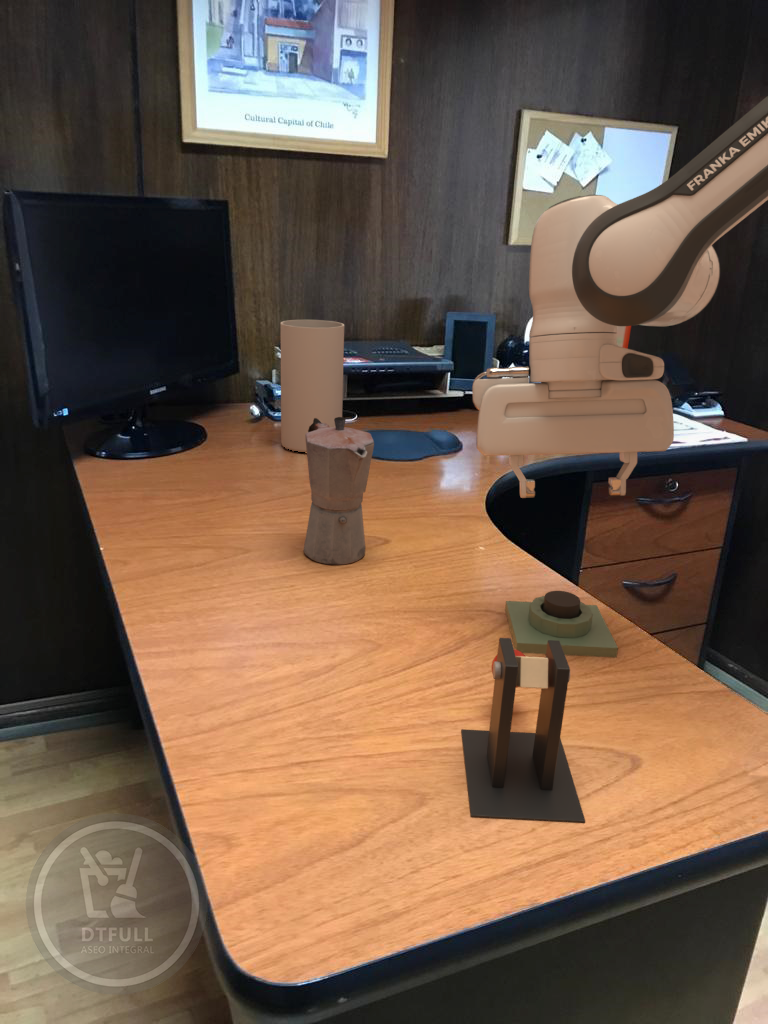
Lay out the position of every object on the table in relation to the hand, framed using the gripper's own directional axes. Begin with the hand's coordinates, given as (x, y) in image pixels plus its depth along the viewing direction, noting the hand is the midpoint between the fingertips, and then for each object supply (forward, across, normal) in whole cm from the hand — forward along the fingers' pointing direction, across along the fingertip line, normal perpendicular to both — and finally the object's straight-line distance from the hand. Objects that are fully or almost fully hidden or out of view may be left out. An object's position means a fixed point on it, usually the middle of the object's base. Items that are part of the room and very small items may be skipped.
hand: (571, 496), depth 83 cm
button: (+14, -1, +3) cm, 14 cm away
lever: (+14, -7, -19) cm, 25 cm away
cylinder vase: (0, -42, +76) cm, 87 cm away
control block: (+17, -1, +4) cm, 18 cm away
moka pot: (+11, -30, +24) cm, 40 cm away
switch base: (+22, -8, -21) cm, 31 cm away
